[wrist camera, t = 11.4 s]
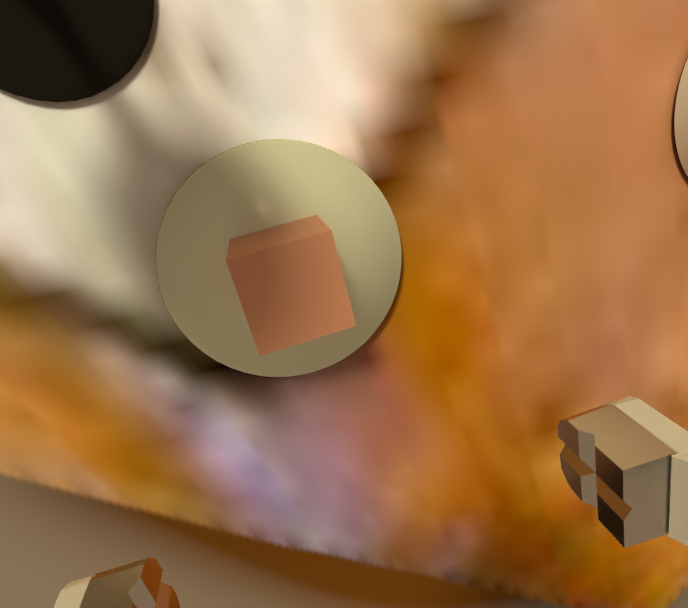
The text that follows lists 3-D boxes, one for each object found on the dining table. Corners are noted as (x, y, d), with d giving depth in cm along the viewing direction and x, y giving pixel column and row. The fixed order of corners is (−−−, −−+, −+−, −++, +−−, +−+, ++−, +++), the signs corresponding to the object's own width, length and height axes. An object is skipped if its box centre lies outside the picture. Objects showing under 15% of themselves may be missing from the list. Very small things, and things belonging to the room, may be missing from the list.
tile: (370, 110, 25) (374, 109, 25) (416, 333, 30) (420, 338, 30) (116, 177, 24) (112, 178, 23) (208, 398, 29) (208, 405, 28)
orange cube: (316, 214, 26) (331, 230, 21) (338, 295, 28) (356, 325, 23) (229, 239, 25) (225, 260, 21) (257, 319, 27) (259, 356, 22)
